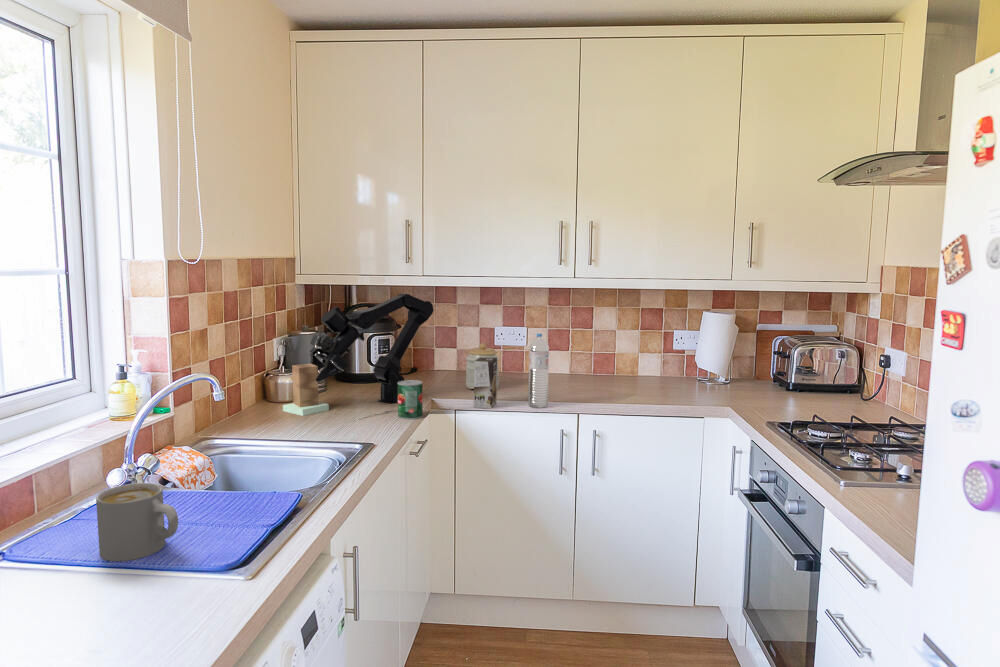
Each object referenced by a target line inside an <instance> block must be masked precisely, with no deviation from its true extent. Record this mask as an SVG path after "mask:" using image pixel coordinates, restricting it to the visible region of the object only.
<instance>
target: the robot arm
mask: <svg viewBox="0 0 1000 667" xmlns="http://www.w3.org/2000/svg"><path fill="white" fill-rule="evenodd" d="M403 307H404V308H405V309H406V310H408V311H407V320H406V321H405V324H404V325H403V326H402V328H401V331H400V332H399V333H398V334H399V335H398V336H397V338H396V339H395V341H394V343H393V345H392V346H391V348H390V349H389V352H388V353H387V354H386V355H379V357H378V358H377V361H376V362H375V363H374V365H373V366H374V368H373V372H374V376H375V378H376V379H377V381H378V383H379V384H380V398H379V399H377V400H378V402H382V403H387V404H393V403H398V382H399V381H403V380H405V377H403V376H402V375H401V373H400V370H401V361H402V358H403V357H404V355H405V353H406V351H407V350H408V348H409V347H410V344H411V342H412V341H413V339H414V337H415V336H416V334H417V332H418V330H419V328H420V327H421V325H423V324H424V323H426V322H428V320H429V319H430V318H431V317H432V315H433V313H434V310H435V309H434V305H433V303H432V302H430V300H422V299H420V298H417V297H415V296H413V295H411V294H410V293H403V292H402V293H401V292H400V293H399V294H397V295H395V296H393V297H392V298H389V299H387V300H385V301H382V302H381V303H378V304H376V305H375V306H372V307H368V308H361V309H358V310H354V311H352V312H351V313H350V314H349V315H346V314H345V313H344V312H343V311H342V310H341V309H340V308H339V307H338V306H334V307H333V308H331V309H329V310H327V311H326V312H324V314H323V315H322V316H321V319H320V321H321V322H322V323H323V324H324V325H325V326H326V327H327V328H328V329H329V330H330V331H331V332H332V333H334V334H336V333H337V335H336V336H335V337H331V336H330V335H329V336H328V335H326V334H325V335H323V336H320V335H316V334H313V336H312V337H311V340H310V343H309V344H310V345H313V346H316V347H312V348H311V349H310V350H309V356H310V362H309V364H310V363H311V364H313V365H316V366H318V371H320V372H319V374H318V377H317V378H316V381H317V382H318V383H320V382H321V381H323V380H325V379H328V378H331V377H332V376H334V375H336V374H338V373H339V374H340V373H342V372H345V371H346V369H348V367H349V362H347V360H346V359H344V357H343V356H344V355H345V354H346V353H347V354H349V353H350V351H351V350H350V348H351V346H353V344H354V343H355V342H356V341H357V340H360V341H363V342H364V341H365V333H364V331H359V330H358V329H362V330H368V329H370V328H371V327H372V326H374V325H375V324H376V323H377V322H378V320H380V319H381V318H383V317H385V316H388V315H390V314H392V313H393V312H395V311H397V310H399V309H402V308H403ZM350 325H351V326H350Z"/></svg>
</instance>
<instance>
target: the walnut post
mask: <svg viewBox="0 0 1000 667" xmlns="http://www.w3.org/2000/svg"><path fill="white" fill-rule="evenodd" d="M291 367H292V368H291V370H292V374H291V375H292V397H293V398H292V399H293V402H292V403H294V404H295V405H297V406H299V407H307V406H314V405H319V402H320V401H319V382H317V381H316V378H317V377H318V375H319V374H318V373H319V370H318V366H316V365H313V364H311V363H310V362H309V363H302V364H294V365H291Z"/></svg>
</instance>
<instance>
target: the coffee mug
mask: <svg viewBox="0 0 1000 667" xmlns="http://www.w3.org/2000/svg"><path fill="white" fill-rule="evenodd" d="M163 494H164V493H163V487H162V485H160V484H157V483H153V482H135V483H128V484H127V483H126V484H122V485H117V486H114V487H110V488H108V489H106V490H104V491H101V492H100V493H98V495H97V496H96V499H95V502H96V503H95V504H96V519H97V530H98V532H97V533H98V545H99V546H98V548H99V549H98V550H99V551H98V552H99V557H100V558H101V559H103V560H105V561H108V562H126V561H127V562H128V561H135V560H138V559H143V558H145V557H149V556H151V555H154V554H156V553H157V552H158V551H160V550H162V549H163V547H165V545H166V540H167V539H169V538H171V537H173V536H174V535H175V534H176V532H177V531H178V527H179V517H178V512H177V510H176V508H175V507H173V506H172V505H170V504H169V503H168V504H167V503H164V495H163ZM165 516H166V518H167V522H168V523H167V524H168V525H167V528H166V527H165Z"/></svg>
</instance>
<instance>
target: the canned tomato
mask: <svg viewBox="0 0 1000 667" xmlns="http://www.w3.org/2000/svg"><path fill="white" fill-rule="evenodd" d="M423 383H424V382H423V381H422V380H416V379H404V380H403V381H399V382H398V402H397V418H399V419H403V420H417V419H421V418H423V413H424V412H423V408H424V407H423V404H424V403H423V401H424V400H423V398H424V397H423V396H424V395H423V393H424V392H423Z"/></svg>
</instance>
